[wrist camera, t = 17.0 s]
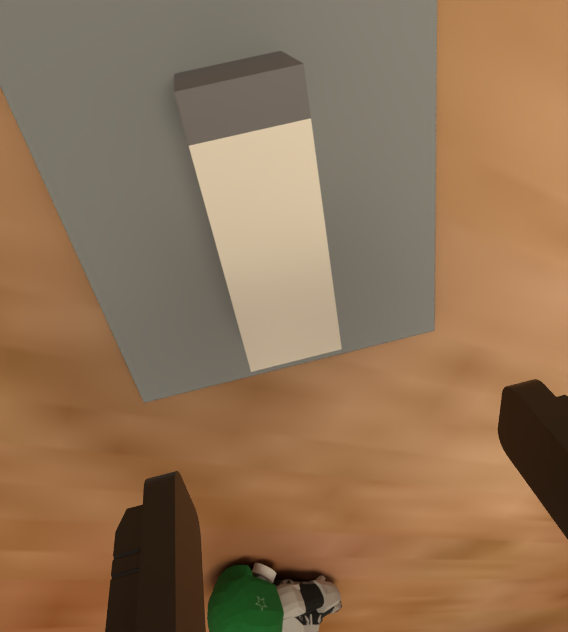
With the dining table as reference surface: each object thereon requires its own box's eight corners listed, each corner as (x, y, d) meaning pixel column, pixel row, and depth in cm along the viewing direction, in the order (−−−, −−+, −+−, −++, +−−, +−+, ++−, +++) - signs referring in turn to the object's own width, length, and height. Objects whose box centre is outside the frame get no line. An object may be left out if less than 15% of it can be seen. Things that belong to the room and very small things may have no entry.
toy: (340, 546, 52) (238, 540, 42) (372, 618, 47) (266, 632, 37) (284, 588, 55) (175, 593, 45) (310, 661, 50) (194, 685, 40)
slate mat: (144, 397, 33) (144, 402, 33) (-53, -41, 20) (-58, -41, 19) (431, 326, 34) (434, 330, 34) (432, -135, 21) (438, -137, 20)
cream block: (319, 301, 31) (280, 50, 23) (341, 349, 27) (303, 63, 19) (241, 320, 31) (174, 73, 23) (251, 372, 26) (173, 91, 19)
